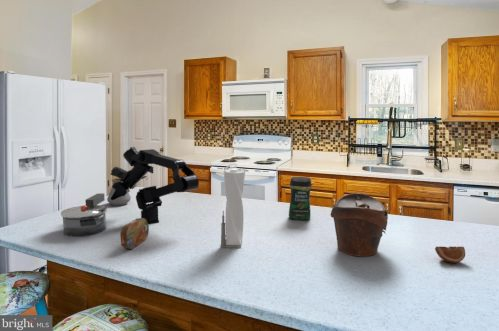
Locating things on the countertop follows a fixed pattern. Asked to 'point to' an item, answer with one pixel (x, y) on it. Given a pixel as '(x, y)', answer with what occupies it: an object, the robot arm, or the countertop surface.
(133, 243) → the tin
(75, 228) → the cooker pot
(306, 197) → the coffee jar
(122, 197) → the coffee pot
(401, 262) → the countertop surface
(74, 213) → the cooker lid
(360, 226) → the brown flower pot
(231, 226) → the skyscraper
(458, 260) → the fruit slice
